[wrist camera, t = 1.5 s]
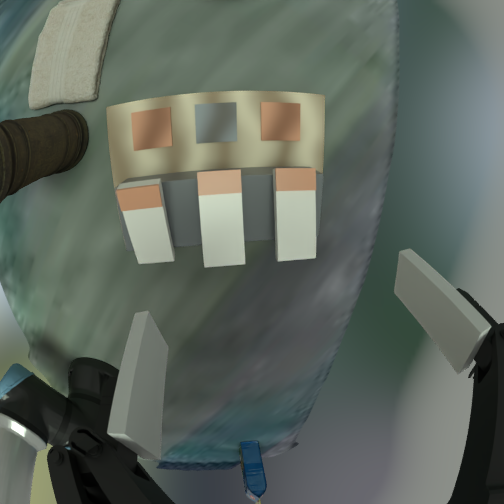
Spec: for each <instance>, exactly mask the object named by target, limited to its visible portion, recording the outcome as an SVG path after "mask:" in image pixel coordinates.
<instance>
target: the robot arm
mask: <svg viewBox="0 0 504 504" xmlns="http://www.w3.org/2000/svg"><path fill="white" fill-rule="evenodd" d="M394 293H395V294H396V295H397V297H398V298H399V299H400V300H401V301H402V302H403V304H404V305H405V306H406V307H407V308H408V310H409V311H410V312H411V313H412V314H413V316H414V317H415V318H416V319H417V321H418V322H419V323H420V324H421V326H422V327H423V328H424V329H425V331H426V332H427V333H428V334H429V336H430V337H431V338H432V340H433V341H434V342H435V344H436V345H437V346H438V347H439V349H440V350H441V352H442V353H443V354H444V356H445V357H446V358H447V360H448V361H449V363H450V364H451V365H452V367H453V368H454V370H455V371H456V372H457V374H459V373H461V372H463V371H464V370H466V369H467V368H468V367H469V366H470V364H471V363H472V361H473V359H474V360H475V361H476V364H475V366H474V368H473V369H472V371H471V372H470V374H469V377H468V378H470V377H471V376H472V374H473V373H474V377H473V379H474V385H473V398H472V408H471V415H470V422H469V429H468V435H467V440H466V446H465V450H464V454H463V459H462V463H461V466H460V470H459V474H458V477H457V481H456V484H455V487H454V490H453V493H452V496H451V498H450V500H449V502H448V503H447V504H504V323H500V324H498V323H497V322H496V321H495V320H494V319H493V318H492V317H491V316H490V315H489V314H488V313H487V312H486V311H485V310H484V309H483V308H482V307H481V306H479V304H478V303H477V302H476V301H474V299H473V298H472V297H471V296H470V295H469V294H468V293H467V292H465V291H463V290H461V289H460V288H458V289H455V288H454V287H453V286H452V285H450V283H449V282H448V281H446V280H445V279H444V278H443V277H442V276H441V275H440V274H439V273H438V272H437V271H436V270H434V269H433V268H432V267H431V266H430V265H429V264H428V263H427V262H425V261H424V260H423V259H422V258H421V257H420V256H418V255H417V254H416V253H415V252H414V251H413V250H411V249H406V250H403V251H400V252H399V259H398V267H397V275H396V282H395V288H394ZM168 348H169V347H168V346H167V344H166V342H165V340H164V339H163V337H162V335H161V333H160V331H159V329H158V328H157V326H156V324H155V322H154V320H153V318H152V316H151V314H150V312H149V311H144V312H138V313H135V315H134V319H133V322H132V325H131V329H130V332H129V336H128V340H127V343H126V347H125V351H124V355H123V359H122V363H121V367H120V371H118V370H117V369H115V368H114V367H112V366H110V365H108V364H106V363H104V362H102V361H99V360H96V359H91V358H78V359H75V360H74V361H73V362H72V363H71V366H70V368H69V372H68V382H69V395H68V398H66V397H65V396H64V395H62V394H61V393H59V392H58V391H56V390H55V389H53V388H52V387H50V386H49V385H48V384H46V383H45V382H44V381H42V380H41V379H39V378H38V377H37V376H35V375H34V373H33V372H30V371H29V370H27V369H26V368H24V367H23V366H22V365H20V364H17V363H16V364H13V365H12V366H11V367H10V368H9V370H8V371H7V372H6V374H5V375H4V377H3V378H2V380H1V381H0V504H30V495H31V486H32V479H33V472H34V466H35V461H36V456H37V452H38V451H40V450H43V449H46V447H47V443H49V444H51V445H52V446H53V447H51V449H50V450H49V452H48V455H47V462H48V467H49V472H50V477H51V481H52V486H53V490H54V494H55V498H56V501H57V504H175V503H174V502H173V501H172V500H171V499H170V498H169V497H168V496H167V495H166V494H165V493H164V492H163V490H162V489H161V488H160V487H159V486H158V485H157V484H156V483H155V481H154V480H153V479H152V478H151V477H150V476H149V474H148V473H147V472H146V471H145V469H144V468H143V467H142V466H141V464H140V463H139V462H137V455H139V456H140V457H142V458H143V459H154V460H160V458H161V431H162V414H163V400H164V387H165V377H166V366H167V357H168Z"/></svg>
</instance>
